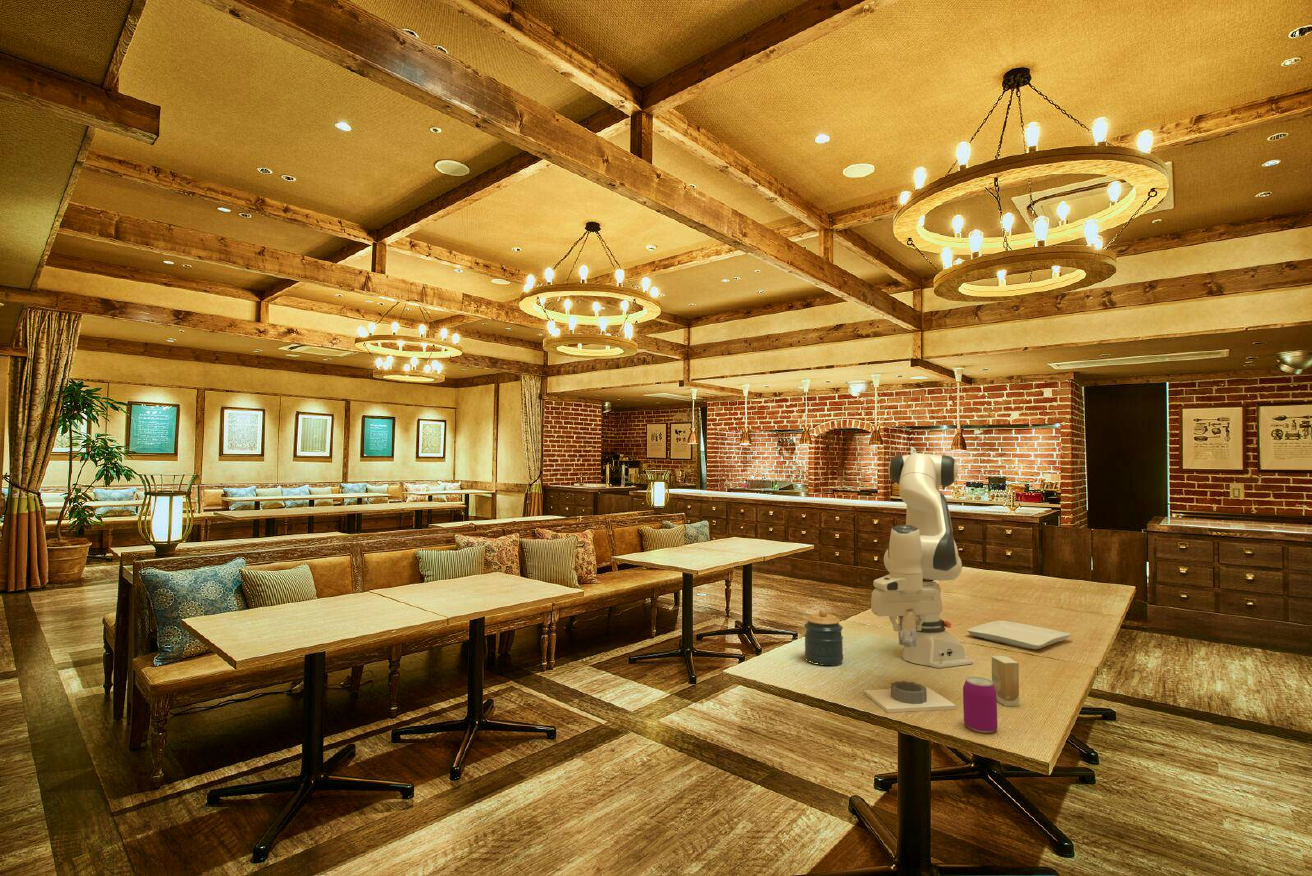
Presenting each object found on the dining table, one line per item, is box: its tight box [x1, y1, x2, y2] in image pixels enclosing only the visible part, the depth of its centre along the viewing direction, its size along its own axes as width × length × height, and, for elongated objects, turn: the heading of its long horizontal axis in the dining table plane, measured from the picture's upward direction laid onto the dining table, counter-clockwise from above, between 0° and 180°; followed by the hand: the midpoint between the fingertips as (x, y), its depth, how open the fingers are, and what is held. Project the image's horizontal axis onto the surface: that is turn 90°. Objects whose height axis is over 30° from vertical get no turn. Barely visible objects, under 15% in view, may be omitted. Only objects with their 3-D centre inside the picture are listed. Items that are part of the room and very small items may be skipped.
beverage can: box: [962, 675, 998, 734], centre depth 157 cm, size 8×8×12 cm
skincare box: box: [991, 655, 1020, 707], centre depth 174 cm, size 6×4×12 cm
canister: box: [803, 608, 844, 666], centre depth 211 cm, size 13×13×18 cm
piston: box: [897, 609, 917, 647], centre depth 175 cm, size 5×5×11 cm
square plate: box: [966, 620, 1072, 650], centre depth 236 cm, size 27×27×4 cm
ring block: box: [863, 680, 957, 714], centre depth 174 cm, size 20×14×4 cm
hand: (907, 630), depth 175 cm, fingers closed on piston, 5 cm apart
